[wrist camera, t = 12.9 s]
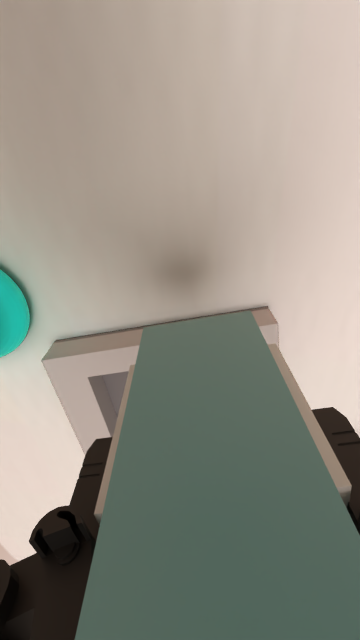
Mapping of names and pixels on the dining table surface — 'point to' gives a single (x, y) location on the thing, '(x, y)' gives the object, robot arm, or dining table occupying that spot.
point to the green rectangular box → (219, 502)
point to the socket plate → (108, 374)
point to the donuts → (12, 315)
